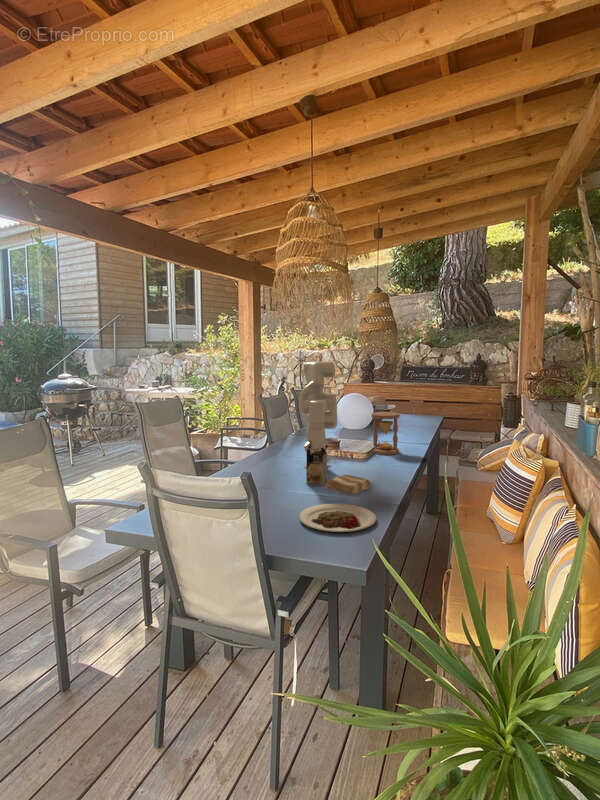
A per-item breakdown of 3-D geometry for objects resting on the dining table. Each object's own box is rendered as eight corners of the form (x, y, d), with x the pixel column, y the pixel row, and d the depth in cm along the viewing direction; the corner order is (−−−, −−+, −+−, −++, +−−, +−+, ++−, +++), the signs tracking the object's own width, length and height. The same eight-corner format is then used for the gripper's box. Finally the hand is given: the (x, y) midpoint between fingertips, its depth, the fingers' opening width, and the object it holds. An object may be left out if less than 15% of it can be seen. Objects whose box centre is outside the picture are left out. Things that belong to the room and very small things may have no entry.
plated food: (315, 504, 206) (315, 496, 205) (383, 513, 194) (383, 505, 194) (287, 528, 178) (287, 520, 178) (364, 541, 167) (364, 531, 166)
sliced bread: (345, 481, 239) (345, 474, 238) (370, 487, 229) (370, 479, 228) (326, 488, 228) (326, 480, 227) (351, 494, 218) (351, 486, 217)
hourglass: (403, 451, 306) (404, 413, 304) (391, 456, 293) (391, 416, 290) (379, 448, 317) (379, 411, 314) (366, 452, 304) (366, 414, 301)
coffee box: (305, 484, 235) (305, 452, 233) (310, 481, 240) (310, 450, 239) (322, 486, 231) (322, 454, 229) (327, 483, 237) (327, 451, 235)
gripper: (322, 423, 241) (322, 456, 242) (299, 427, 228) (299, 462, 230) (333, 424, 236) (333, 458, 237) (310, 428, 223) (310, 464, 225)
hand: (316, 460), depth 234 cm, fingers open, 9 cm apart
